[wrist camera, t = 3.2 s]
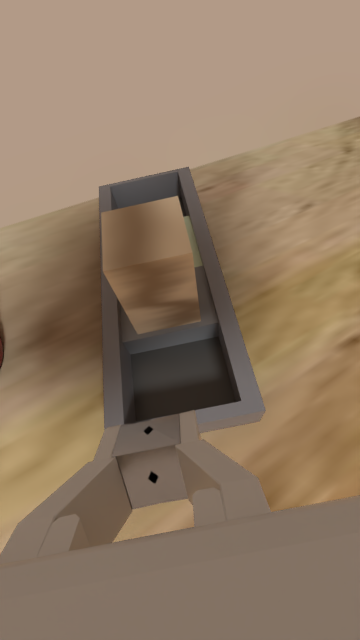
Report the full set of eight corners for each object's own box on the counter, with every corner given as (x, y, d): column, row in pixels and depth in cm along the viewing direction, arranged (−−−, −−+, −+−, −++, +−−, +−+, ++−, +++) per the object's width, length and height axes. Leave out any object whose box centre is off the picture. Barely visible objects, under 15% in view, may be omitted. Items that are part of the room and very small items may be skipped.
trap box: (191, 193, 40) (188, 166, 37) (259, 421, 24) (265, 410, 21) (109, 211, 41) (98, 186, 37) (121, 448, 24) (104, 442, 21)
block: (189, 272, 29) (178, 195, 22) (201, 321, 26) (192, 252, 18) (132, 284, 29) (101, 212, 22) (137, 334, 26) (102, 271, 19)
